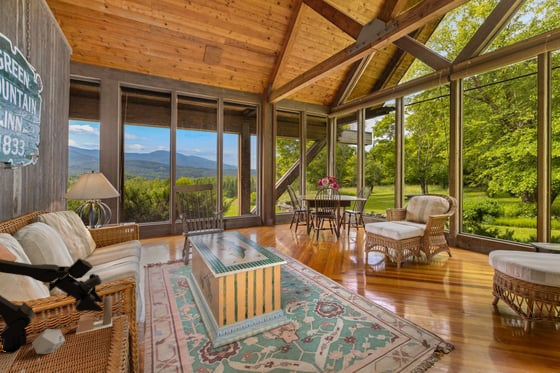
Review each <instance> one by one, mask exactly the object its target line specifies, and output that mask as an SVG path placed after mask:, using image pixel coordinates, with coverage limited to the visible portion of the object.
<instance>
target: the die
mask: <svg viewBox="0 0 560 373" xmlns="http://www.w3.org/2000/svg"><path fill="white" fill-rule="evenodd" d="M65 342H66V339H65V336H64V334H63V333H62V331H61V329H59V328H58V329H57V328H56V329H54V328H46V329H45V330H44V331H43V332H41V333H40V334H39V335H38V336H37V337H36V338H35V339H34V340H33V341H32V342H31V344H32V346H33V349H34V351H35V353H36V354H37V355H48V354H52V353H54V352H56V351H57V350H58V349H59V348H60V347H61V346H62V345H63V344H64V343H65Z"/></svg>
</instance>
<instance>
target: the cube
mask: <svg viewBox="0 0 560 373" xmlns="http://www.w3.org/2000/svg"><path fill="white" fill-rule="evenodd" d="M94 321H95V312H92V313H88V314H87V313H86V314H83V315H82V314H81V315H79V324H78V326H79V332H83V331H87V330H92V329H93V326H94Z"/></svg>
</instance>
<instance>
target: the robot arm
mask: <svg viewBox="0 0 560 373" xmlns="http://www.w3.org/2000/svg"><path fill="white" fill-rule="evenodd" d="M93 268H94V267H93V265H92V264H91V263H90V262H89V261H87V260H84V259H82V258H80V257H79V258H78V259H77V260H75V262H74V263H72V264H71V265H69V266H68V265H67V266H65V265H64V266H63V265H62V266H61V265H58V264H51V263H50V264H47V263H45V264H44V263H43V264H31V263H27V262H26V263H25V262H19V261H14V260H7V259H1V258H0V273H4V274H9V275H17V276H23V277H29V278H32V279H33V280H35V281H38V282H42V283H45V284H48V287H49V288H48V291H49V292H50V291H51V292H52V290H54V288H57V289H58V290H59V291H62V292H64V294H66V295H65V296H66V297H68V298H69V297H71V298H73V299H75V302H76V304H75V310H76V311H77V312H79V313H81V312H86V311H87V312H89V311H90V312H102V310H103V307H102V306H100V305H99V303H102V302H104V299H102V297H101V296H100V295H99V294H98V292H97V290H96V286H99V285H101V284H102V279H101V277H100V275H98V274H94V273H91V274H89V276H88V277H89V278H87V279H86V280H85V281H83V280H77V279H82V278H84V276H85V275H86V274H88V272H90V271H91V270H92V269H93ZM34 314H35V312H34V310H33V307H32V306H29V305H28V304H27V302H22V304H15V303H12V301H9V299H7V298H5V297H4V296H2V295H0V317H1V319H2V320H3V322H4V324H5V326H4V328H3V329H2V331H1V332H0V338H1V344H0V346H1V345H3V350H4V351H6V352H13V353H15V352H17V351H19V349H21V347H23V346H24V345H26V344H27V339H28V338H27V336H28V334H27V329H26V328H27V327H29V325H30V324H31V322H32V319H33V318H34ZM6 352H5V353H6Z"/></svg>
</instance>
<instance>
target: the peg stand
mask: <svg viewBox="0 0 560 373" xmlns="http://www.w3.org/2000/svg"><path fill="white" fill-rule="evenodd" d="M113 299H114V298H113V295H107V296H105V297H104V298H103V312H102V314H103V315H102V320H99V321H95V322H94V326H93V329H92V330H87V331H83V332H79V328H77V327H76V330H75V335H79V334H83V333H88V332H92V331H96V330H100V329H104V328H106V329H107V328H109V327H112V326H113V318H112V313H113Z"/></svg>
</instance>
